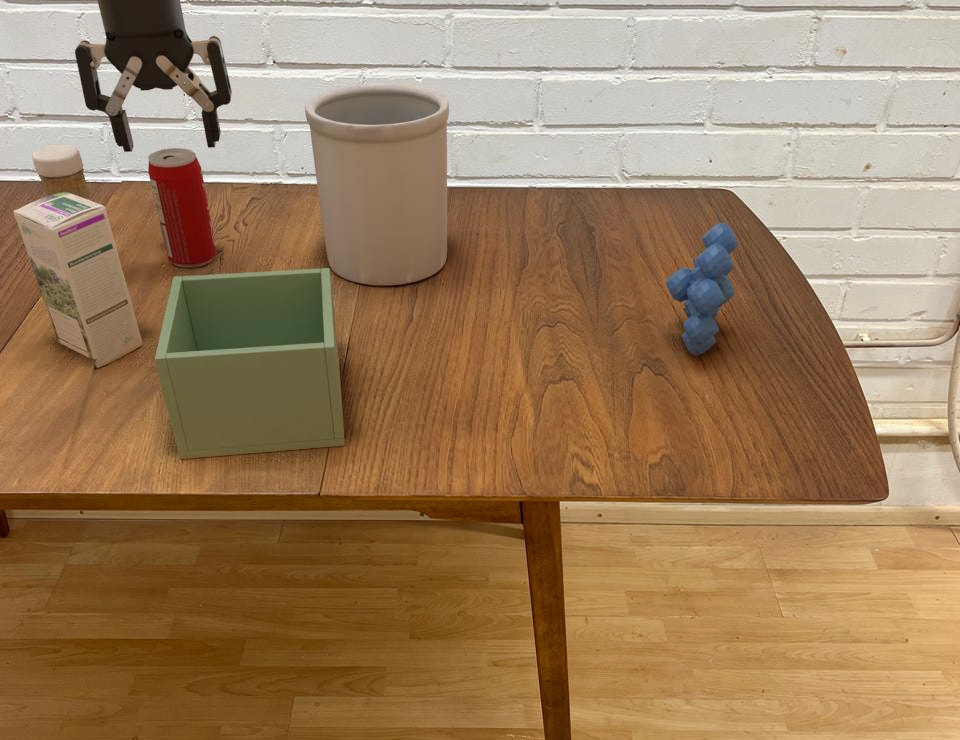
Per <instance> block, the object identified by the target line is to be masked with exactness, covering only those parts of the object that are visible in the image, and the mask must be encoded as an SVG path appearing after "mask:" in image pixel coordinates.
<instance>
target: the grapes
mask: <svg viewBox="0 0 960 740" xmlns="http://www.w3.org/2000/svg"><path fill="white" fill-rule="evenodd" d="M701 240H702V242H703V244H704V247H705V249H704V250H703V251H702V252H701V253H700V254H699V255H698V256H697V257H696V258H695V261H694V262H692V265H693V266H694V267H693V268H692V269H690V268H687V267H685V266H683V267H682V268H679V269H677V270H676V271H675V272H673V273H672V274H671V275H670V277H668V278H667V279H666V280H665V285H666V288H667V290H668V292H669V294H670V296H671V297H672V299H673V300H674V301H677V302H679V303H683V305H684V308H683V311H684V313H685V315H686V317H687V319H685V321H684V322H683V323H682V327H683V329H684V331H685V332H683V333H682V334H681V338H682V341H683V343H684V345H685V347H686V349H687V350H688V352H689V353H690V354H691V355H693V356H695V357H698V356H700V355H702V354H704V353H706V352H708V350H710V349H711V348H712V347H713V346H714V345H715V344H716V343H717V340H716V337H715V335H716V334H717V333H718V332H719V331H720V328H719V324H718V323H717V320H716V318H717V317H718V316H719V313H718V312H719V311H720V308H722V306H723V305H725V304H726V303H727V302H728V301H729V300H730V299H731V298H732V297H733V296H734V295H735V294H736V291H735V288H734V286H733V284H732V282H731V281H730V279H729V276H728V275H729V274H730V273H731V272H732V271H733V270H734V267H733V265H734V264H733V261H732V258H731V256H730V254H731V253H732V252H733V251H734V250H735V249H736V248H738V247H739V242H738V239H737V236H736V234H735V233H734V230H733V229H732V227H731V226H730V225H729V224H728V223H725V222H723V221H721V222H720V223H717V224H715V225H714V226H712V227H711V228H710V229H709V230H708V231H707V232H706V233H705V234H704V235H703V236H702V238H701Z"/></svg>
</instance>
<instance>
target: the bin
mask: <svg viewBox="0 0 960 740" xmlns="http://www.w3.org/2000/svg"><path fill="white" fill-rule="evenodd" d="M331 277H332V276H331V267H324V268H323V267H322V268H306V269H288V270H287V269H286V270H270V271H253V272H237V273H236V272H232V273H218V274H216V273H215V274H200V275H183V276H182V275H179V276H173V277H172V281H171V286H170V290H169V294H168V299H167V304H166V307H165V312H164V316H163V320H162V325H161V330H160V334H159V338H158V343H157V347H156V351H155V356H154V362H155V366H156V370H157V374H158V378H159V381H160V386H161V390H162V393H163V398H164V402H165V405H166V409H167V413H168V418H169V421H170V424H171V429H172V433H173V437H174V440H175V445H176V448H177V451H178V455H179V456H178V457H179V459H180V460H187V459H188V460H189V459H200V458H211V457H223V456H224V457H225V456H235V455H237V456H238V455H249V454H259V453H260V454H261V453H271V452H272V453H273V452H283V451H284V452H285V451H296V450H309V449H321V448H333V447H344V446H346V443H345V442H346V441H345V427H344V414H343V413H344V412H343V398H342V385H341V370H340V369H341V368H340V357H339V348H338V347H339V345H338V337H337V326H336V317H335V316H336V315H335V306H334V297H333V287H332V278H331Z"/></svg>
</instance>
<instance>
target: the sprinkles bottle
mask: <svg viewBox="0 0 960 740" xmlns="http://www.w3.org/2000/svg"><path fill="white" fill-rule="evenodd" d="M31 158H32V162H33V165H34V169H35V173H36V174H38V177H39V179H40V181H41V185H42V188H43V192H44V195H45V197H47V196H50V195H54V194H57V193H61V192H68V193H71V194H73V195H76V196H79V197H82V198H84V199H87V200H90V201H92V202H93V200H92V197H91V194H90V191H89V187H88V184H87V181H86V176H85V174H84V171H85V170H84V169H85V168H84V162H83V158H82V156H81V152H80V150H79V149H78V148H77V147H76V146H73V145H70V144H69V145H68V144H52V145H48V146H44V147H40V148H38V149H36V150H35V151H33V152H32V155H31Z"/></svg>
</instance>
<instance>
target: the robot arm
mask: <svg viewBox="0 0 960 740" xmlns="http://www.w3.org/2000/svg"><path fill="white" fill-rule="evenodd" d="M97 6H98V9H99V13H100V17H101V21H102V25H103V26H102V27H103V30H104V34H105V43H90V41H88V40H85V39H84V40H81V41H80V42H79V43H78V44H77V46H76V48H75V50H74V54H75V56H74V57H75V60H76V64H77V69H78V75H79V81H80V84H81V88H82V89H81V90H82V95H83V99H84V103H85V108H87V109H88V110H90V111H93V112H95V111H98V112H103V113H104V114H106V115H107V116H108V118H109V123H110V126H111V130H112V134H113V139H114V142H115V143H116V145H117V146H118V147H122V149H123V152H124V153H131V152H133V149H134V147H135V146H134V140H133V136H132V131H131V128H130V124H129V123H130V122H129V120H128V119H129V118H128V115H127V111H126V109H123V104H124V102H125V100H126V99H127V96H128V94H129V92H130V90H131V88H132V87H135V88H137V89H140V91H141V92H143V91H150V90H153V89H160V90H163V91H164V90H165V91H167V90H168V91H170V90H173V89H174V88H175V87H177V86H178V87H179V88H180V90H181V91H183V92H184V93H185V94H186V95H187V96H188V97H189V98H191V99H192V100H193V101H194V102H195V103H197V105H198V106H199V107H200V108H201V119H202V124H203V129H204V134H205V140H206V145H207V148H216V144H217V142H218V143H219V142H220V137H221V133H222V131H221V127H220V120H219V115H218V108H219V107H221V106H225V105H229V104H230V103H231V100H232V94H233V89H232V86H231V82H230V77H229V72H228V67H227V64H226V63H227V62H226V59H225V55H224V51H223V50H224V49H223V46H222V42H221V39H220V38H219V37H218V36H216V35H212V36H210V37H209V38H208V39H205V40H194V41H192V39H191V38H190V36H189V35H188V33H187V29H186V25H185V20H184V13H183V8H182V3H181V0H97ZM194 55H198V56H199V57H200V58H201V60H202V62H203V63H204V64H205V65H207V66H210V68H211V73H212V78H213V82H214V86H215V90H213V91H210V89H208V87H207V86H206V85H205V84H204V82H202V81H201V79H200V77H199V76H198V75H197V74H196V73H195V72H194V71H193V69H191V68H190V64H191V62H192V60H193V58H194ZM103 58H106V60H108V62H109V63H110V64H111V65H112V66H113V67H114V68H115V69H116V70H117V71H118V72H119V73H120V74H121V75H120V77H119V79H118V81H117V83H116V85H115V87H114V89H113V92H112V93H111V95H110V96H108V95H106V94H102V90H101V85H100V80H99V75H98V70H97V69H99V68H100V67H101V64H102V59H103Z"/></svg>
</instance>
